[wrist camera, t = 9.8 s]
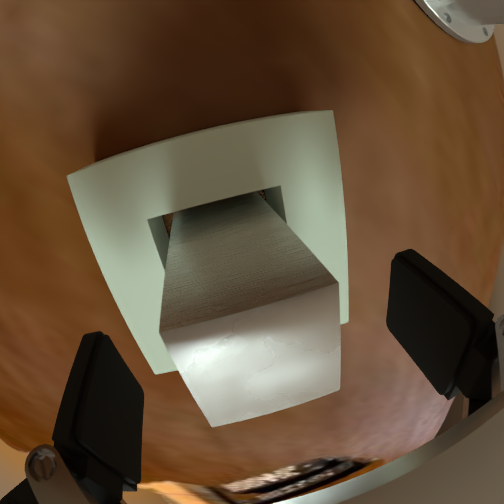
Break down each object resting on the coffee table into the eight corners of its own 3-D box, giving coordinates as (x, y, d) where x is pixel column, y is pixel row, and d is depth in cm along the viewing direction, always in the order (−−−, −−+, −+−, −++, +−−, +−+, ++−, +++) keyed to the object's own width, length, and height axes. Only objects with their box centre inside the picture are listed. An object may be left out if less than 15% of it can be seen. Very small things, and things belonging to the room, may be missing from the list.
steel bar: (250, 185, 17) (338, 282, 7) (264, 253, 19) (340, 389, 9) (175, 205, 16) (158, 332, 7) (195, 271, 18) (212, 427, 8)
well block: (301, 111, 15) (332, 109, 12) (323, 288, 21) (348, 321, 17) (93, 163, 14) (66, 175, 11) (158, 332, 20) (155, 374, 16)
